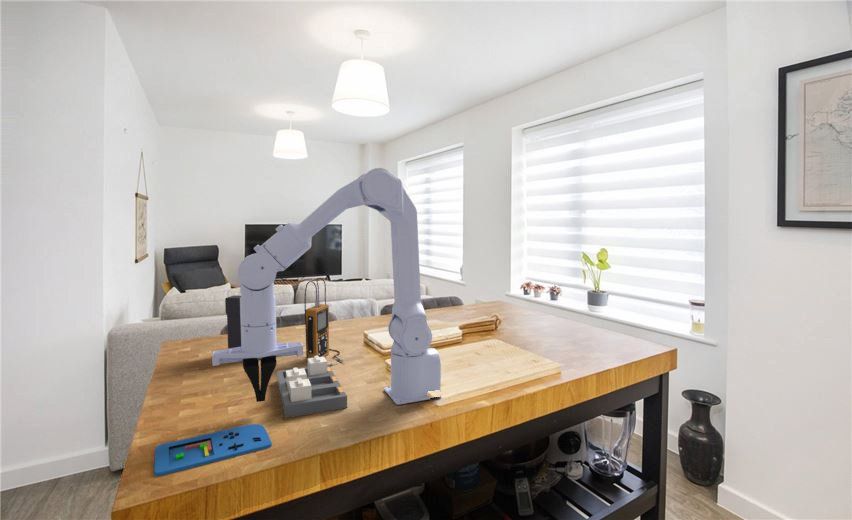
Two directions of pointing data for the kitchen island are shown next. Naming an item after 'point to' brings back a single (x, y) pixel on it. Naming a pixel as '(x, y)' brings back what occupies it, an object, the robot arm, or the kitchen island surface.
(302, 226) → the robot arm
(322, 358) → the tab
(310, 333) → the multimeter
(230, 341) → the dark gray lidded box
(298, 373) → the tab
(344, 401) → the switch bank
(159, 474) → the handheld gaming device
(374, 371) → the kitchen island surface
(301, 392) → the tab
